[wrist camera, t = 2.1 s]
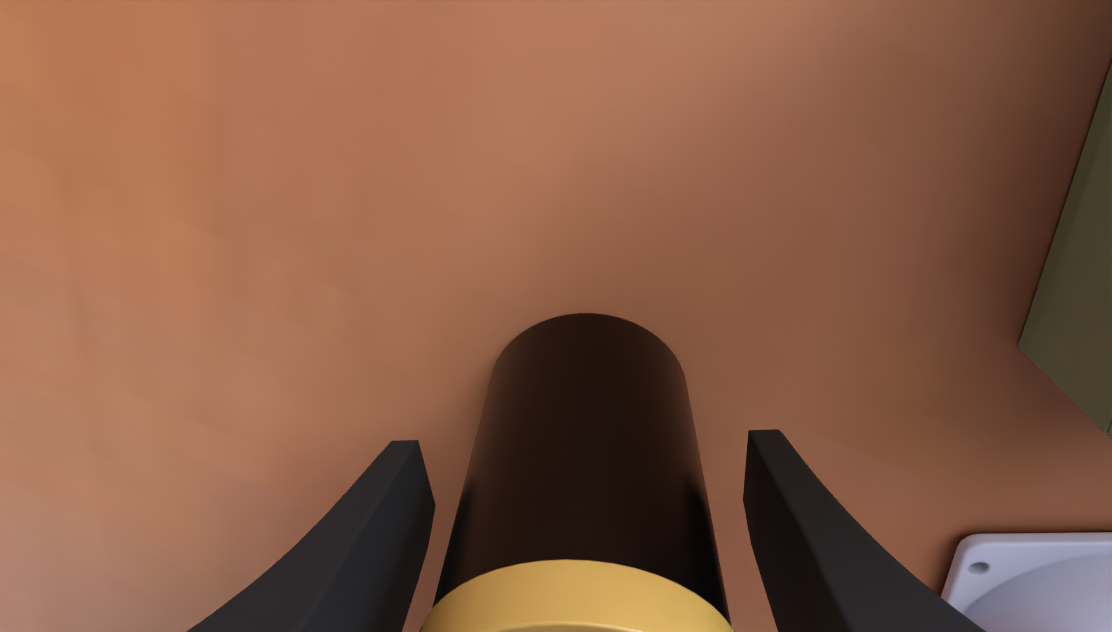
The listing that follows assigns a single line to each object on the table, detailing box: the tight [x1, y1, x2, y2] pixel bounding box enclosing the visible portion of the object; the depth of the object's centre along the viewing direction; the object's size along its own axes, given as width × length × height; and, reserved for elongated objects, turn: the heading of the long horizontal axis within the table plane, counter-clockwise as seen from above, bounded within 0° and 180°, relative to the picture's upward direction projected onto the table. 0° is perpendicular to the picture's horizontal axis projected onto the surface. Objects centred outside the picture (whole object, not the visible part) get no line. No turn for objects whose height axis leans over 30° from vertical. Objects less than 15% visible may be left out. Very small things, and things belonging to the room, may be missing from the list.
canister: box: [420, 313, 734, 632], centre depth 13 cm, size 5×5×8 cm
